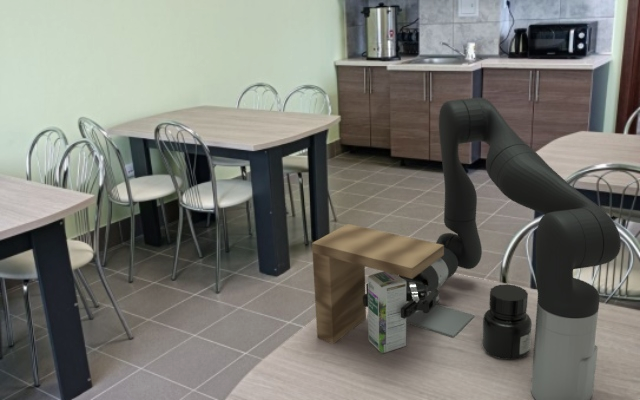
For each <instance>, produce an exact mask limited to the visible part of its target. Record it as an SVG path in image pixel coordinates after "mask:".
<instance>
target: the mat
mask: <svg viewBox="0 0 640 400" xmlns="http://www.w3.org/2000/svg"><path fill="white" fill-rule="evenodd" d="M407 303H408V301H407V302H406V304H407ZM475 316H476V315H475V314H472V313H469V312H466V311H463V310H457V309H454V308H451V307H447V306H445V305H441V304H437V305H436V306H435V307H434V308H433V309H432V310H431V311H430V312H429V313H423V311H422V310H419V312H415V313H413V314H412V315H411V316H409V317H406V324H409V325H411V326H414V327H417V328H418V327H419V328H422V329H425V330H427V331H431V332H434V333H438V334H440V335H442V336H443V335H444V336H447V337H450V338H455V337H456V336H458V334H459V333H460V332H462V330H463V329H464V328H465V327H466V326H467V325H468V324H469V323H470V322H471V321H472V320H473V319H474V318H475Z"/></svg>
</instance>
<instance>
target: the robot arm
mask: <svg viewBox="0 0 640 400" xmlns="http://www.w3.org/2000/svg"><path fill="white" fill-rule="evenodd" d="M438 133H439V134H438V135H439V145H440V154H441V162H442V163H441V164H442V172H443V178H444V179H443V181H444V208H443V209H444V210H443V211H444V212H443V222H444V226H445V227H446V229H448V230H450V231H451V232H453V233H451V232H447V233H442V234H441V235H440V236H438V238H437V240H436V242H435V243H437V244H441V245H444V255H443V256H442V257H440V258H439V259H438V260H436V261H435V262H434V263H432V264H431V265H430V266H428V267H427V268H426V269H425V270H423V271H422V272H421V273H419V274H418V275H417V276H415V277H414V278H413V279H411V278H407V277H403V276H400V277H401V278H402V279H403V280H406V302H407V301H408V303H407V304H405V305H404V306H403V307H402V308H401V318H404V319H405V318H406V317H409V316H411V315H412V314H413V313H415V312H419V310H422V311H423V313H429V312H430V311H431V310H432V309H433V308H434V307H435V306H436V305H439V303H440V289H439V288H441V287H442V286H443V284H444V283H445V282H446V281H447V280H449V278H451V277H452V276H453V275H454V274H455V273H456V272H457V270H458V267H459V268H461V269H465V270H471V269H475V268H476V267H477V266H478V264H479V263H480V262H481V259H482V253H483V249H482V243H481V239H480V235H479V230H478V227H477V221H476V219H477V203H478V198H477V192H476V191H477V190H476V188H475V185H474V183H473V182H472V179H471V178H470V177H469V175H468V174H467V171H466V170H465V168H464V166H463V164H462V162H461V160H460V156H459V155H460V154H459V145H460V144H467V143H475V142H476V143H477V142H483V143H485V144H487V145H488V146H489V147H488V151H487V155H486V159H485V169H486V173H487V175H488V177H489V179H490V180H491V181H492V182H493V184H494V185H495V186H496V187H497V188H498V189H499V191H500V192H501V193H502V195H504V196H505V197H506V198H508V199H509V200H511V201H513V202H515V203H516V204H519V205H521V206H523V207H525V208H527V209H530V210H532V211H535V212H537V213H540V214H543V216H542V217H541V218H540V220H539V222H538V224H537V229H536V233H535V234H536V235H535V236H536V237H535V284H536V289H537V290H536V291H537V303H536V314H535V315H536V316H535V329H534V330H535V331H534V342H533V343H534V344H533V357H532V359H533V360H532V373H531V380H530V381H531V389H530V391H531V395H532V397H533V398H534V399H535V400H591V398H592V397H593V394H594V393H593V392H594V384H595V383H594V382H595V374H596V366H597V357H598V349H599V348H598V346H597V345H596V344H595V343H596V334H597V324H598V316H599V307H600V299H601V298H600V293H599V291H598V290H597V288H596V287H594V286H593V285H592V284H591V283H588V282H587V281H584V280H582V279H579V278H576V277H574V270H577V269H578V270H579V269H585V268H590V267H592V268H593V267H598V266H602V265H605V264H607V263H608V264H609V263H610V262H612V261H613V260H615V259H616V258H617V256H618V255H619V253H620V251H621V245H622V244H621V243H622V242H621V240H622V239H621V236H620V235H621V234H620V232H619V229H618V227H617V225H616V223H615V222H614V220H613V219H612V217H611V216H610V215H609V214H608V213H607V212H606V211H605V210H604V209H603V208H601V206H599V205H598V204H597V203H596V202H594V201H592V200H591V199H590V198H588V197H587V196H585V194H583V193H582V192H580V191H579V190H577V189H576V188H575V187H574V186H572V185H571V184H569V182H567V180H565V179H564V178H563V177H562V176H561V175H559V173H558V172H556V171H555V170H554V169H553V168H552V167H551V166H550V165H549V164H548V163H547V162H546V161H545V160H544V159H543V158H542V157H541V156H540V155H539V154H538V153H537V152H536V151H535V150H534V149H533V148H532V147H531V146H530V145H529V144H528V143H527V142H525V141H524V140H523V139H522V137H520V136H519V135H518V134H517V132H516V131H514V129H513V128H511V126H510V125H509V124H508V122H507V121H506V120H505V119H504V117H503V116H502V115H501V113H500V112H499V111H498V109H497V108H496V107H495V105H494V104H493V103H492V102H491V101H490V100H488V99H486V98H484V97H472V98H470V97H469V98H462V99H461V98H460V99H452V100H447V101H445V102H444V103H442V105H441V106H440V110H439V116H438ZM363 305H364V306H365V307H366V308H368V282H367V283H365V295H364V296H363Z"/></svg>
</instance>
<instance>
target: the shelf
mask: <svg viewBox="0 0 640 400" xmlns="http://www.w3.org/2000/svg"><path fill="white" fill-rule="evenodd" d="M311 247H312V248H311V250H312V265H313V266H312V267H313V281H314V284H313V285H314V299H315V300H314V301H315V319H316V320H315V322H316V337H317V339H319V340H322V341H325V342H327V343H330V344H335V343H336V342H337V341H339V340H340V339H341V338H342V337H344V336H345V335H347V334H348V333H349V332H350V331H352V330H353V329H355V328H356V327H357V326H359V325H360V324H361V323H362V322H363V321H365V320H366V319H367V307H365V306H364V305H363V296H364V295H365V294H366V268H368V269H369V268H370V269H374V270H376V271H380V272H388V273H392V274H396V275H398V276H403V277H407V278H411V279H413V278H414V277H415V276H417V275H418V274H419V273H421V272H422V271H423V270H425V269H426V268H427V267H428V266H430V265H431V264H432V263H434V262H435V261H436V260H438V259H439V258H440V257H442V256H443V255H444V245H441V244H437V243H436V242H431V241H427V240H422V239H417V238H414V237H409V236H404V235H401V234H400V235H399V234H395V233H390V232H385V231H382V230H381V231H380V230H378V229H372V228H367V227H363V226H359V225H354V224H351V223H350V224H349V223H346V224H345V225H342V226H341V227H339V228H337V229H335V230H334V231H332V232H330V233H328V234H326V235H324V236H323V237H321V238H319V239H317V240H315V241H312V243H311Z"/></svg>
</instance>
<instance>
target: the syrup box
mask: <svg viewBox="0 0 640 400" xmlns="http://www.w3.org/2000/svg"><path fill="white" fill-rule="evenodd" d="M367 283H368V307H367V319H368V320H367V324H368V326H367V327H368V333H367V334H368V342H370V343H371V344H372V346H374V347H375V348H376V349H377V350H378V351H379V352H380V353H381V354H385V353H388V352H392V351H395V350H397V349H401V348H404V347H406V346H407V323H406V318H405V319H404V318H401V308H402V307H403V306H404V305H405V304H406V280H403V279H402V278H401V277H400V276H399V275H396V274H392V273H388V272H384V271H380V272H376V273H372V274H369V275H368V276H367Z"/></svg>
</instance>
